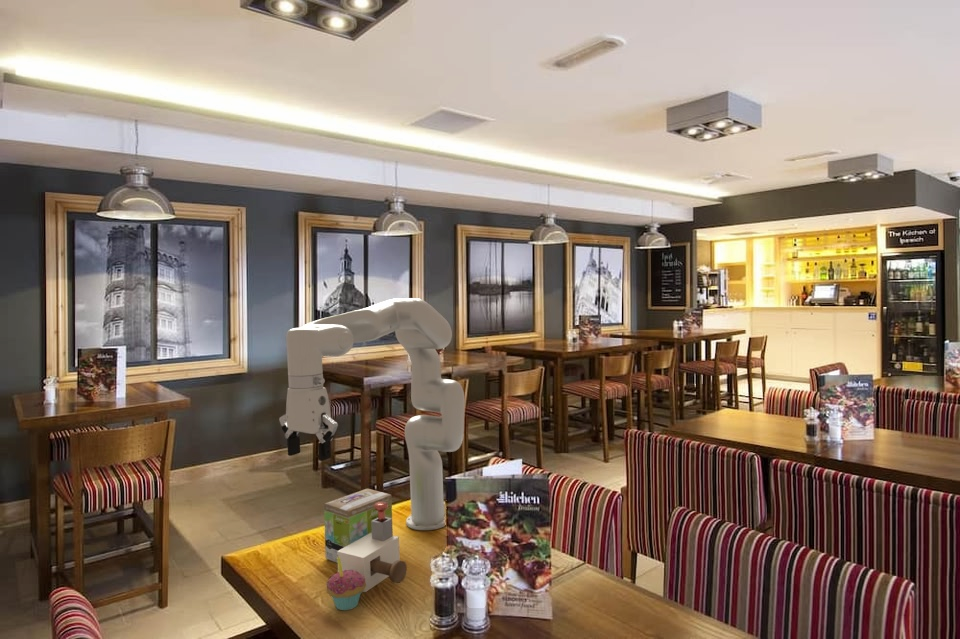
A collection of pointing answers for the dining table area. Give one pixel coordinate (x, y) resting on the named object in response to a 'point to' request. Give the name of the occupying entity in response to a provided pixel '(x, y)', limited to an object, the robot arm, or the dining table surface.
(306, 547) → the dining table surface
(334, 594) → the cupcake
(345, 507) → the tea box
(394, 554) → the block
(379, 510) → the plunger
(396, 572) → the pin
